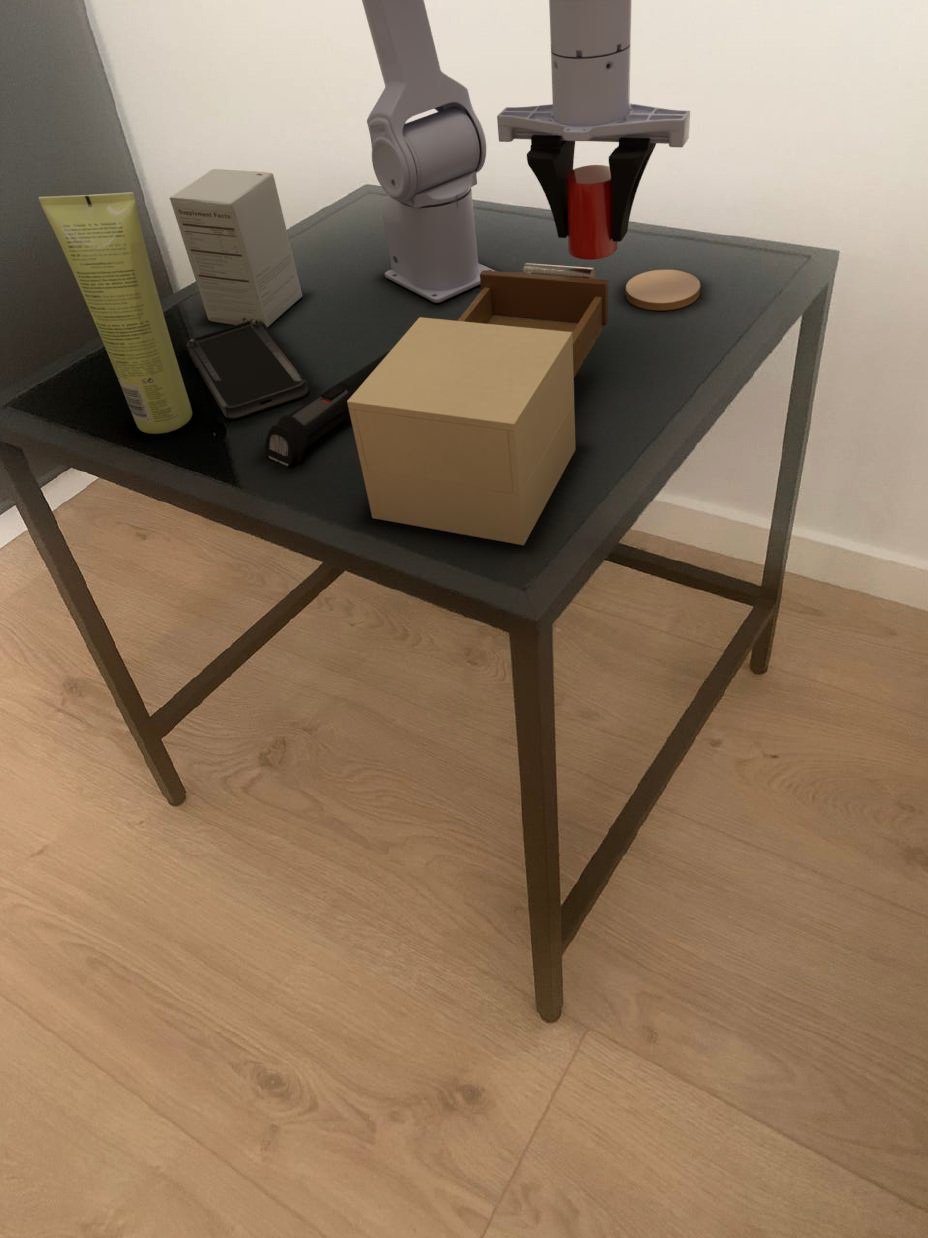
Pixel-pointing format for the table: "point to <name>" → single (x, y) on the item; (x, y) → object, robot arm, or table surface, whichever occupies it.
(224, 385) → the phone
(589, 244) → the red upright cylinder
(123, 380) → the tube
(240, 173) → the white packaging box
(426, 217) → the robot arm
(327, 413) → the electric trimmer
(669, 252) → the table surface
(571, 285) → the drawer
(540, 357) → the little tan box
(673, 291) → the cork coaster
